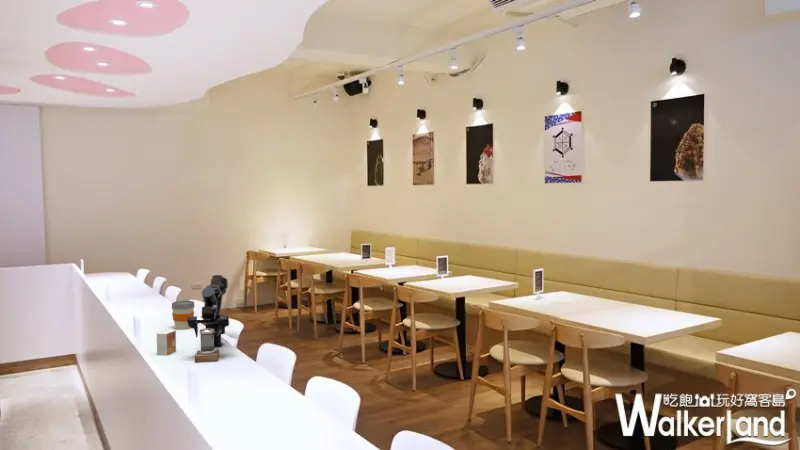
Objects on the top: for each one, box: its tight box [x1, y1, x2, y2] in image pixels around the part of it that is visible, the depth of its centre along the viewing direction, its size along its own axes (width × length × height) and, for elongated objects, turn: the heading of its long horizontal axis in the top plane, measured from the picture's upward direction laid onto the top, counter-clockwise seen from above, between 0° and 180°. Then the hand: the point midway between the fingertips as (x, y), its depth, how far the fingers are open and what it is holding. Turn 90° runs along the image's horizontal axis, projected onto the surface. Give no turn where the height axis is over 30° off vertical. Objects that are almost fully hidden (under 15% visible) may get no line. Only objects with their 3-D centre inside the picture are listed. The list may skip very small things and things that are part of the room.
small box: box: [156, 329, 177, 356], centre depth 290 cm, size 8×6×10 cm
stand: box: [194, 349, 220, 363], centre depth 279 cm, size 10×10×3 cm
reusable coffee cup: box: [171, 300, 195, 331], centre depth 343 cm, size 13×13×15 cm
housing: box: [199, 327, 216, 355], centre depth 279 cm, size 7×7×11 cm
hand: (206, 336), depth 278 cm, fingers open, 9 cm apart
